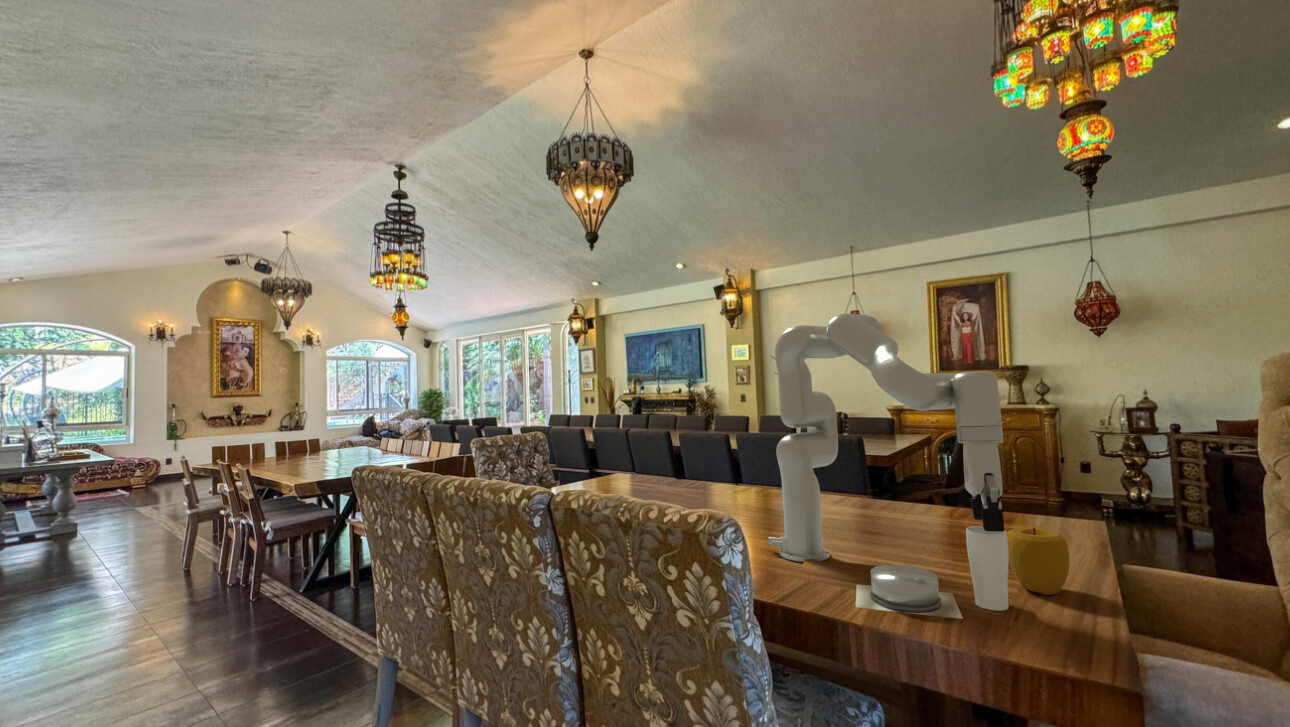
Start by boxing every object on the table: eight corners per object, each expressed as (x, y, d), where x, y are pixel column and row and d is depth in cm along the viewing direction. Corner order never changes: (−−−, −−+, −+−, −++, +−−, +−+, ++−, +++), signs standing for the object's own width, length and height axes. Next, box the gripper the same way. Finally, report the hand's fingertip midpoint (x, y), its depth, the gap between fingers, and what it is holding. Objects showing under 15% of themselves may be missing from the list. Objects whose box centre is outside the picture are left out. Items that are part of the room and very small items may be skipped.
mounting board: (855, 612, 103) (855, 607, 103) (856, 589, 115) (856, 584, 115) (963, 624, 97) (962, 618, 97) (952, 598, 109) (952, 593, 109)
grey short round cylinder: (870, 608, 103) (869, 581, 103) (870, 585, 114) (868, 561, 115) (945, 616, 98) (943, 588, 98) (937, 591, 110) (935, 566, 110)
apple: (1003, 578, 118) (999, 519, 119) (1064, 584, 114) (1059, 522, 114) (1013, 596, 108) (1008, 531, 109) (1079, 603, 104) (1074, 535, 105)
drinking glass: (1014, 620, 98) (1008, 536, 98) (970, 613, 101) (965, 532, 102) (1012, 606, 103) (1006, 527, 104) (971, 600, 107) (965, 524, 108)
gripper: (951, 432, 113) (958, 515, 112) (965, 438, 97) (974, 535, 96) (992, 431, 111) (1000, 516, 109) (1014, 437, 95) (1024, 537, 93)
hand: (988, 525), depth 103 cm, fingers open, 9 cm apart
